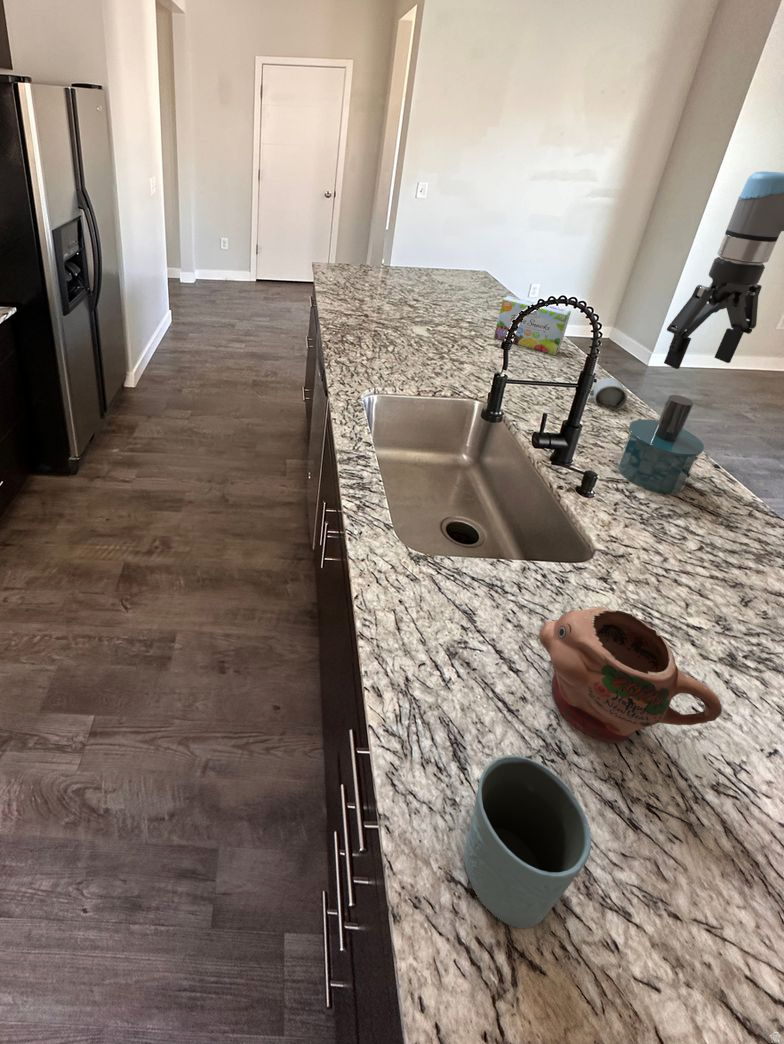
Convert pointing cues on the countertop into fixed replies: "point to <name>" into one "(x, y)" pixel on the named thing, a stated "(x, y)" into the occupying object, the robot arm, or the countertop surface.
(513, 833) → the teal cup
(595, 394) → the ceramic mug
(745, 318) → the robot arm
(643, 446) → the pot
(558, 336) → the snack box
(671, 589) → the countertop surface
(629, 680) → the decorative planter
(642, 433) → the lid
